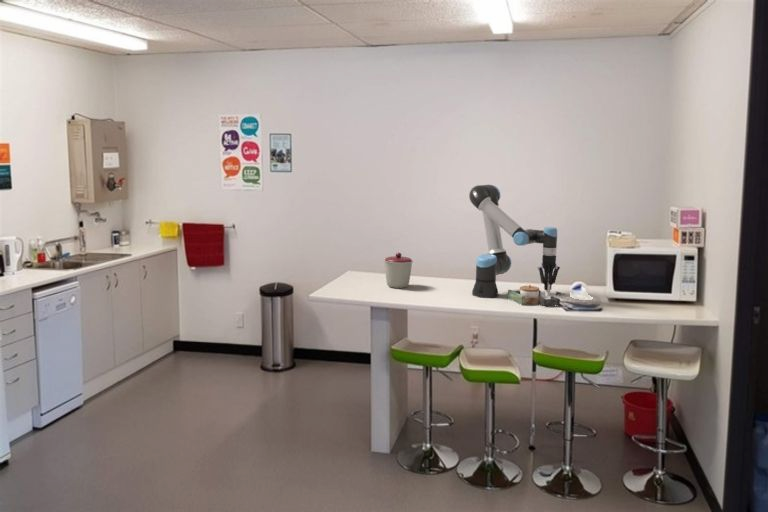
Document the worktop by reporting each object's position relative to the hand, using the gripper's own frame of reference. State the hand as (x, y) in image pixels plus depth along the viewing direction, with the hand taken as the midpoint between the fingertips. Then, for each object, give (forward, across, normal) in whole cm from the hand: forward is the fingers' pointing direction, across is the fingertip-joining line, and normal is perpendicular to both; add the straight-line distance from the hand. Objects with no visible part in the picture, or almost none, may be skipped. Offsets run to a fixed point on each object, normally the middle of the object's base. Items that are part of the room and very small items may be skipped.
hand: (547, 295), depth 384 cm
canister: (+2, -75, +50) cm, 90 cm away
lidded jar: (+3, -11, 0) cm, 12 cm away
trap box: (+3, -10, 0) cm, 10 cm away
